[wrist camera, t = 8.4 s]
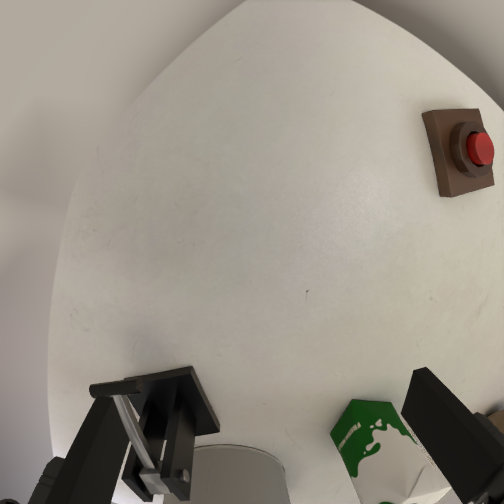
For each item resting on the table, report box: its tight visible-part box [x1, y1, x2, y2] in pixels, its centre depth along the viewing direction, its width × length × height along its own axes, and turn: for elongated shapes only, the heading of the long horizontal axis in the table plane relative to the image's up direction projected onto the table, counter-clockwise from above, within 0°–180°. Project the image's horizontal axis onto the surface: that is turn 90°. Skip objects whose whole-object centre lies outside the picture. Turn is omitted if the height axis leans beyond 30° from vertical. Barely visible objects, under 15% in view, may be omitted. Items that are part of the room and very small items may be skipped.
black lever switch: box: [121, 366, 220, 502], centre depth 26 cm, size 10×9×14 cm
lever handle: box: [89, 378, 172, 494], centre depth 21 cm, size 12×5×2 cm, turn 15°
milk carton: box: [330, 400, 452, 504], centre depth 26 cm, size 9×9×20 cm
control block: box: [422, 109, 494, 197], centre depth 27 cm, size 10×9×4 cm
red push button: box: [466, 133, 494, 165], centre depth 25 cm, size 4×4×2 cm
